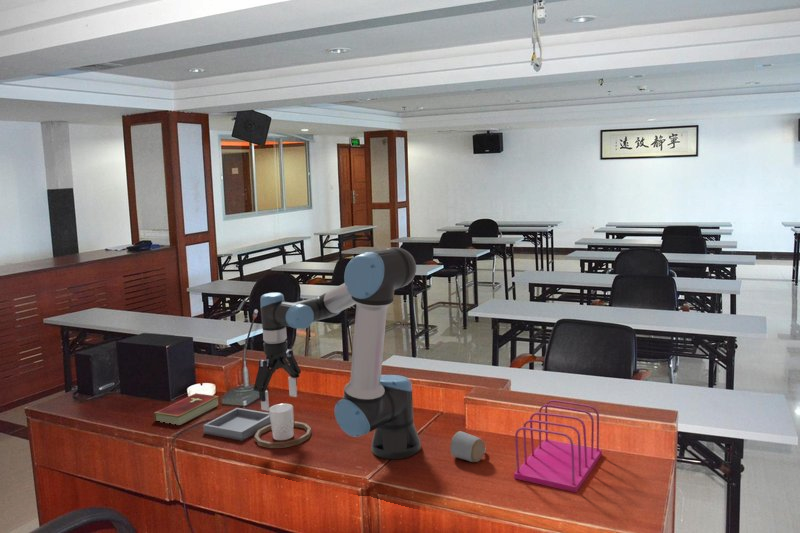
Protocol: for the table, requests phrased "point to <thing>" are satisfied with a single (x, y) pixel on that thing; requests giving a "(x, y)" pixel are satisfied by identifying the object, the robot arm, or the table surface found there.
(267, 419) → the tray
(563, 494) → the table surface
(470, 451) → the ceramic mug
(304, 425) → the holder ring
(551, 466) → the file sorter
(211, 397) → the hardcover book
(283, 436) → the white cup
